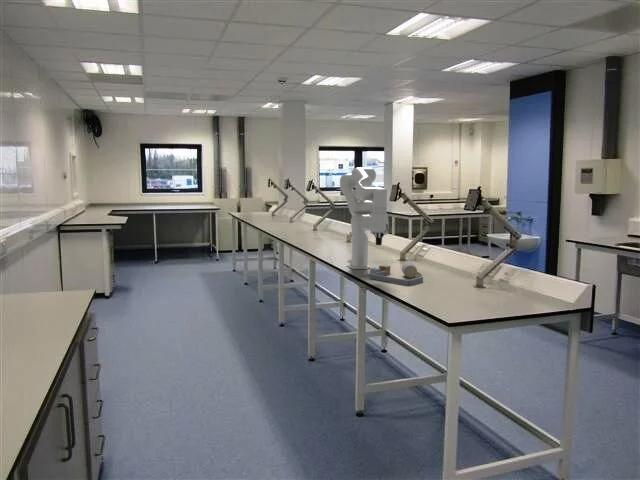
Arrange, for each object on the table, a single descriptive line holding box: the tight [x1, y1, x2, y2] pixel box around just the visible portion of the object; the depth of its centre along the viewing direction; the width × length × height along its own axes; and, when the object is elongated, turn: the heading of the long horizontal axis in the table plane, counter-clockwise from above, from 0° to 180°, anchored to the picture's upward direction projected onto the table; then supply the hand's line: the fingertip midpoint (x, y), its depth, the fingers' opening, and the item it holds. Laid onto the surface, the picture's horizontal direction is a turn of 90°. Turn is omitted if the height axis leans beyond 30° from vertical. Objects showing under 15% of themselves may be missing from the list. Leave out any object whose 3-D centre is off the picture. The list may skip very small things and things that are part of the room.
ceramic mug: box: [401, 261, 423, 279], centre depth 279 cm, size 11×8×8 cm
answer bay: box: [369, 271, 424, 286], centre depth 270 cm, size 24×14×2 cm, turn 47°
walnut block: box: [378, 264, 391, 275], centre depth 288 cm, size 4×4×4 cm
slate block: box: [369, 267, 380, 275], centre depth 282 cm, size 4×4×4 cm
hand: (378, 244), depth 278 cm, fingers closed
